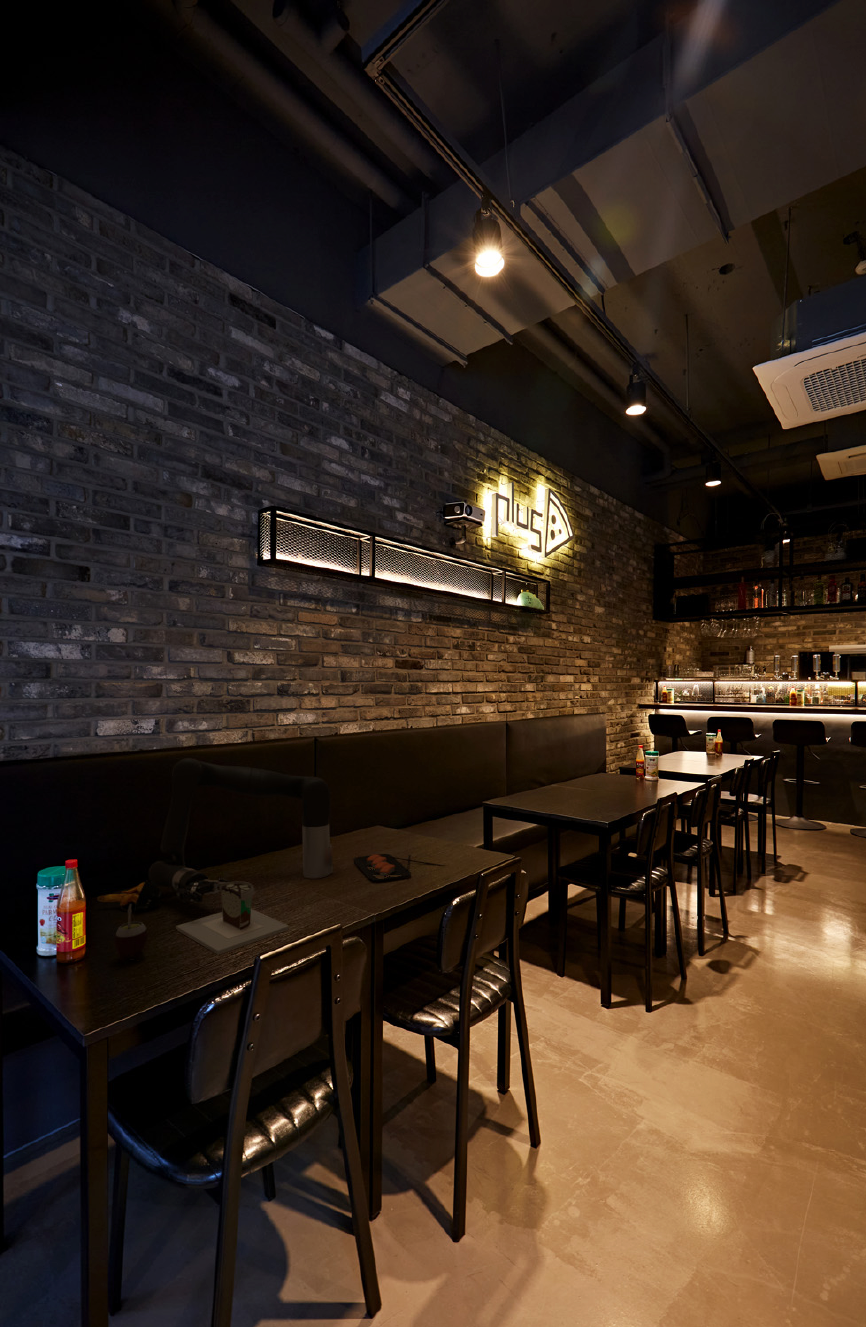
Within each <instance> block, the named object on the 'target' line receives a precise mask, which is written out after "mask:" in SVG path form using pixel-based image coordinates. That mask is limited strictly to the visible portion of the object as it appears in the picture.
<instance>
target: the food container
mask: <svg viewBox="0 0 866 1327" xmlns="http://www.w3.org/2000/svg"><path fill="white" fill-rule="evenodd" d="M220 891H221V892H220V894H221V895H220V896H221V898H220V899H221V912H222V915H223V922H225V923H227V924H229V925H231V926H233V927H235V928H237V929H239V930H242V929H244V928H246V927H248V926H249V925H250V918H251V909H252V899H253V897H254V895H255V889H254V886H253V884H252V883H250V882H247V881H242V880H241V881H237V880H236V881H231V882H227V883H222V884H221V886H220Z"/></svg>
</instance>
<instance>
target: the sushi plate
mask: <svg viewBox="0 0 866 1327" xmlns="http://www.w3.org/2000/svg"><path fill="white" fill-rule="evenodd" d="M399 860H402V861H406V862H407V867H406V866H404V865H403V863H401V862H400V861H399ZM410 862H412V863H413V862H414V863H417V864H424V865H429V866H436V865H437V866H438V867H446V865H444V864H439V863H433V862H432V863H431V862H425V861H421V860H420V861H419V860H414V859H411V854H409V855H408V858H401V857H394V856H392V854H389V853H378V854H370V855H362V856H357V857H354V858H353V863H354V864H355V865H356V866H357V867H358V868H359V869H360V871H362V872H363V874H364V875H365V876H366V877H367V878H368V879H369V880H370V881H373V882H381V881H390V880H396V879H401V878H402V879H403V878H406V877H410V876H411V875H412V872H411V871H410V870H409V865H410ZM367 867H373V868H375V870H374V869H373V870H372V869H371V868H370V869H371V870H369V869H368V868H367ZM373 875H381V876H384V877H386V876H388V875H401V876H398V877H390V876H389V877H387V878H384V879H378V878H376V877H375V876H373Z"/></svg>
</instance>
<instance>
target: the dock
mask: <svg viewBox="0 0 866 1327" xmlns="http://www.w3.org/2000/svg"><path fill="white" fill-rule="evenodd" d="M175 928H176V929H177V930H176V931H177V932H179V933H181V934H182V935H185V936H186V937H187V938H188V939H191V940H193V941H194V942H196V943H198V944H199V945H201V946H203V947H204V948H205V949H207V950H209V951H211V953H214V954H215V955H217V956H219V955H222V954H225V953H227V952H231V951H233V950H235V949H239V948H241V947H245V946H247V945H250V944H253V943H256V942H258V941H261V940H264V939H267V938H270V937H273V936H275V935H278V934H282V933H283V932H284V933H285V932H287V931H289V929H290V926H289V925H288V924H286V923H283V922H282V921H279V920H277V919H275V918H272V917H271V916H268V915H266V914H263V913H261V912H259V911H258V910H255V909H252V908H251V918H250V925H249V926H248V927H246V928H244V929H242V930H239V929H237V928H235V927H233V926H231V925H229V924H227V923H225V922H223V915H222V911H221V912H218V913H214V914H210V915H207V916H203V917H201V918H198V919H195V920H191V921H188V922H185V923H181V924H177V925H175Z"/></svg>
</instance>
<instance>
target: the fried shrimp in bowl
mask: <svg viewBox="0 0 866 1327" xmlns="http://www.w3.org/2000/svg"><path fill="white" fill-rule="evenodd" d="M162 896H163V892H162V891H161V890H160V889H159V887H158V885H155V884H153V883H152V882H151V881H150V879H146V881H145V882H141V883H139V884H138V885H137V886H135V887H134V886H133V887H132V888H130V889H128V890H124V891H121V893H114V894H105V895H100V896H98V897H97V902H102V903H115V902H119V906H120V908H121V910H123V911H126V912H128V909H129V904H132V906H131V910H132V911H135V912H137V911H147V910H149V909H152V908H155V907H158V906H159V905H160V904H161V902H162Z"/></svg>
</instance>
